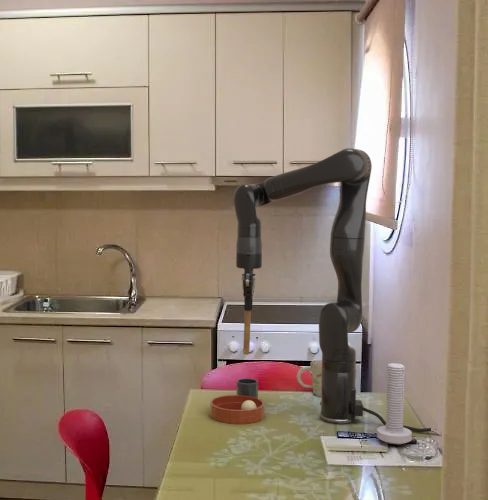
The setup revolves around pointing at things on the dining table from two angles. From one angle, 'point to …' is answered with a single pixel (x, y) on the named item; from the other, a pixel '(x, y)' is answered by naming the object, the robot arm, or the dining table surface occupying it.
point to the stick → (246, 332)
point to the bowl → (236, 409)
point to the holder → (247, 387)
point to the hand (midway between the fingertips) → (248, 309)
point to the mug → (313, 376)
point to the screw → (395, 408)
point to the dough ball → (248, 405)
